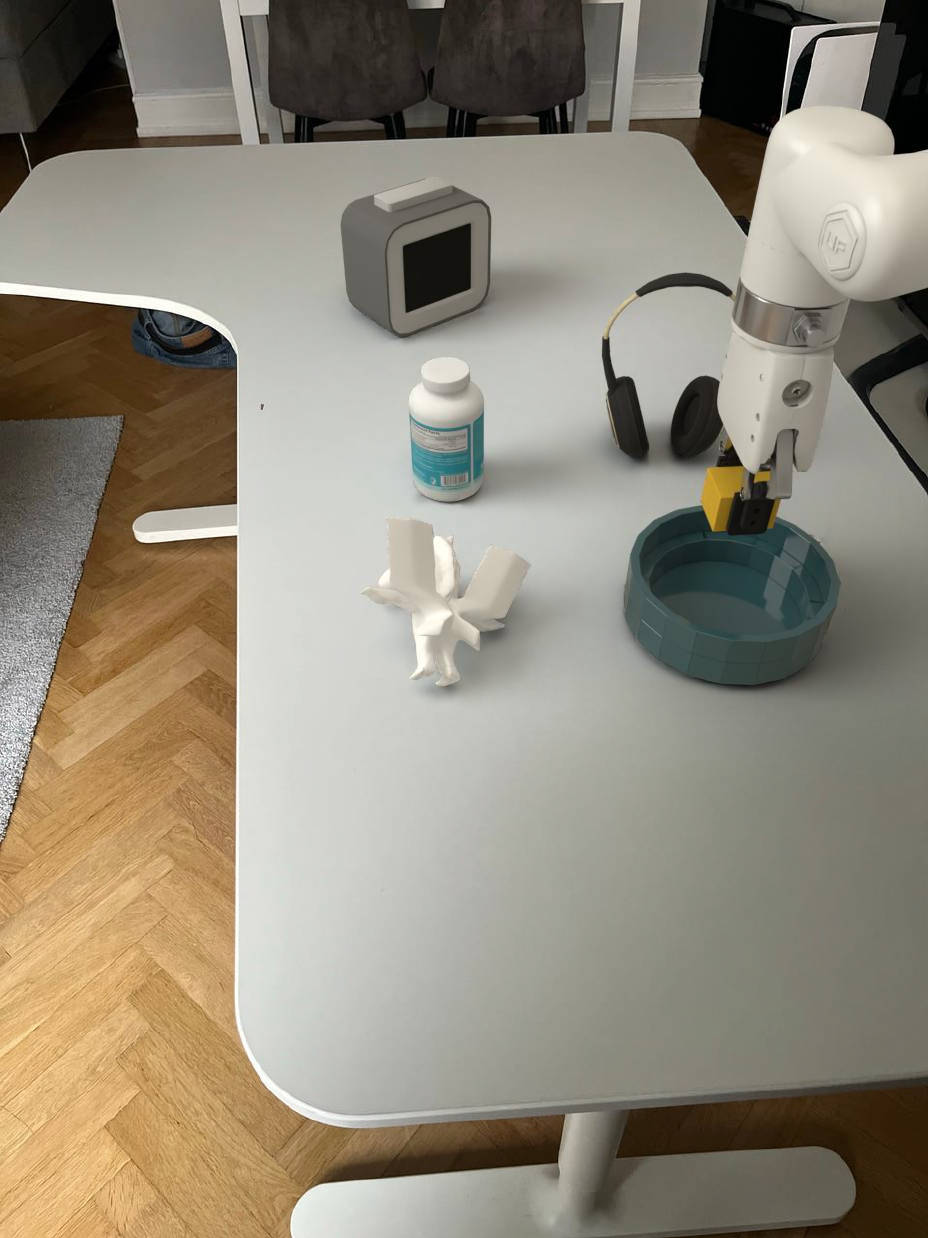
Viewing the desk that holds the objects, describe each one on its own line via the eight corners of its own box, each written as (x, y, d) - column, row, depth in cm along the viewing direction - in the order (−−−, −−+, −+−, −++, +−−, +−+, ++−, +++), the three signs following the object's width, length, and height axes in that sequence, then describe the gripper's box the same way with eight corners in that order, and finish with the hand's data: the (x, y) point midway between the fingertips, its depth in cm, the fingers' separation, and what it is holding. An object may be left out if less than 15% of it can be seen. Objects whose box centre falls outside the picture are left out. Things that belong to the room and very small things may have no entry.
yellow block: (700, 501, 83) (707, 467, 80) (758, 498, 83) (767, 464, 81) (712, 532, 80) (720, 497, 78) (773, 528, 80) (782, 494, 78)
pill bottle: (449, 453, 108) (447, 340, 98) (498, 483, 104) (501, 368, 94) (397, 483, 104) (390, 368, 94) (446, 514, 100) (444, 398, 91)
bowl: (854, 607, 90) (873, 557, 86) (765, 724, 81) (781, 674, 77) (684, 530, 98) (694, 481, 94) (585, 628, 89) (591, 578, 84)
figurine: (460, 717, 91) (457, 579, 97) (541, 679, 82) (532, 531, 88) (314, 686, 83) (320, 538, 88) (388, 641, 74) (389, 480, 80)
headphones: (733, 472, 105) (775, 295, 91) (594, 473, 105) (614, 296, 91) (718, 427, 111) (755, 254, 97) (586, 427, 111) (604, 254, 97)
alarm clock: (390, 343, 125) (382, 219, 114) (339, 309, 131) (328, 189, 120) (489, 304, 132) (491, 184, 121) (437, 274, 138) (435, 157, 127)
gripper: (888, 369, 63) (815, 580, 76) (803, 251, 75) (752, 452, 88) (772, 374, 63) (719, 585, 76) (705, 254, 74) (668, 455, 87)
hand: (737, 511), depth 81 cm, fingers closed on yellow block, 4 cm apart
